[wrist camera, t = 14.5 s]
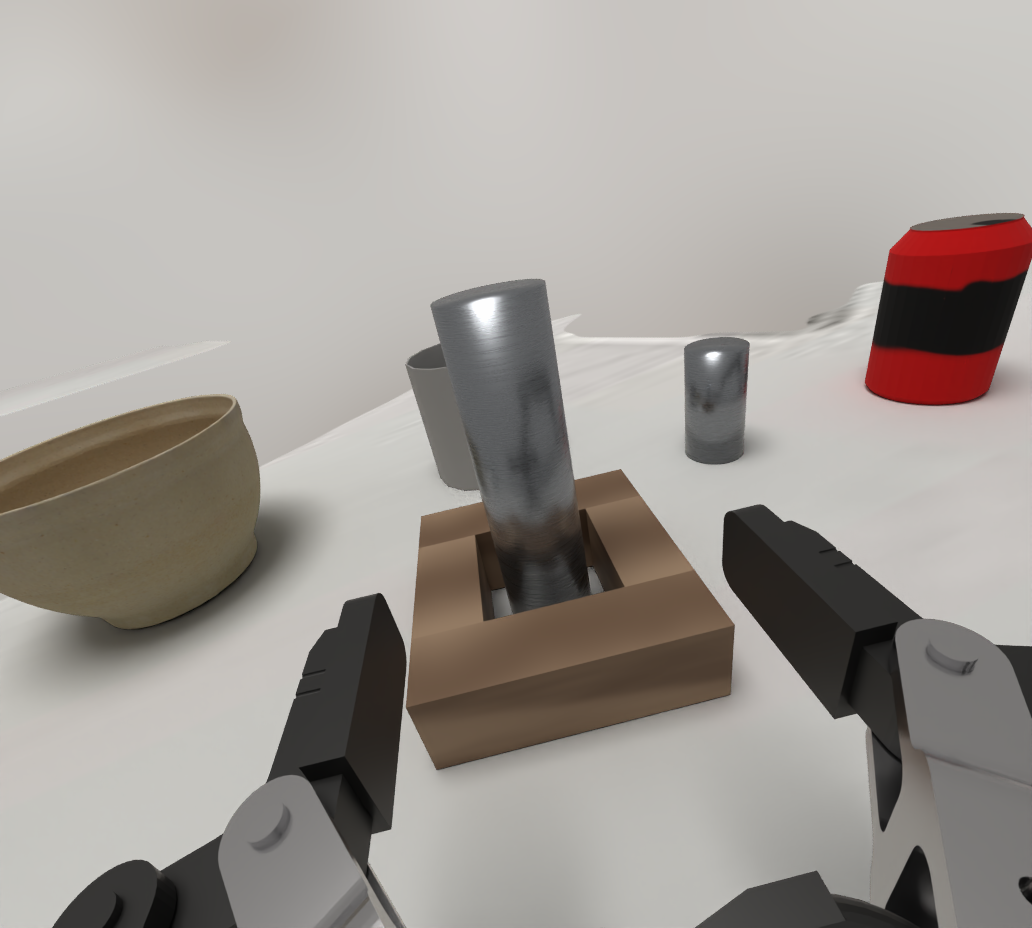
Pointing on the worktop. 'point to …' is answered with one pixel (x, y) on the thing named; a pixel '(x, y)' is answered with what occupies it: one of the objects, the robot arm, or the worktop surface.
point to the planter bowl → (132, 513)
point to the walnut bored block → (559, 633)
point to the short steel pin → (715, 399)
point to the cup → (441, 418)
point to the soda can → (948, 307)
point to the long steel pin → (517, 436)
